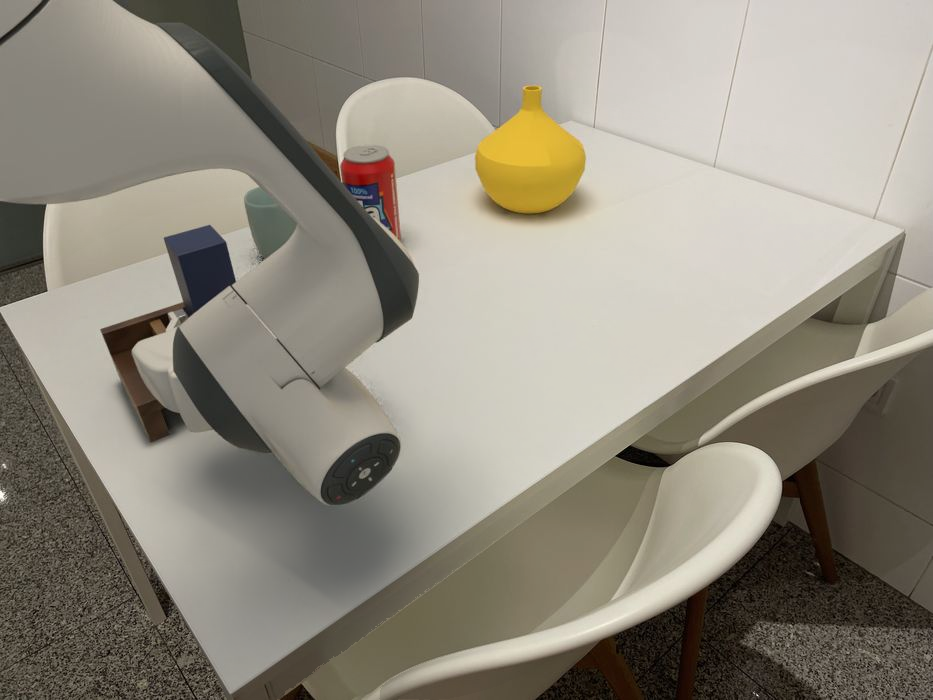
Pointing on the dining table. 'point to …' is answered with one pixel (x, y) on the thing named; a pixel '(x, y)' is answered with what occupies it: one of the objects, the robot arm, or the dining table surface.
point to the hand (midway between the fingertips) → (223, 300)
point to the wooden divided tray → (120, 349)
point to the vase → (530, 160)
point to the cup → (267, 222)
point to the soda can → (373, 183)
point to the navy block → (200, 265)
